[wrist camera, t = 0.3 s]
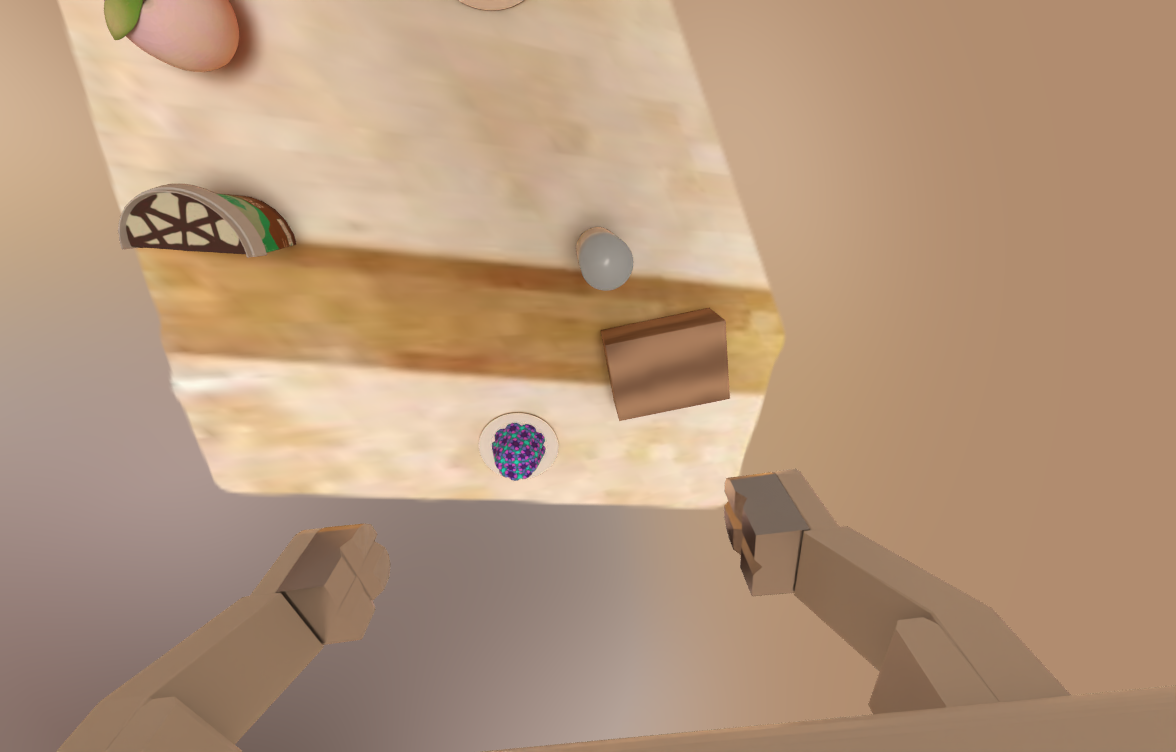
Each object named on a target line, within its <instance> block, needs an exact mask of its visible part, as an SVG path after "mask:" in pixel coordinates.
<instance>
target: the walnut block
mask: <svg viewBox="0 0 1176 752" xmlns="http://www.w3.org/2000/svg"><path fill="white" fill-rule="evenodd" d="M601 335H602V340H603V345H604V350H605V356H606V361H607V366H608V372H609V377H610V382H611V387H612V393H613V398H614V402H615V406H616V410H617V414H618V417H619V421H622V420H627V419H632V418H636V417H641V416H646V415H651V414H656V413H661V412H666V411H671V410H676V409H681V408H686V407H691V406H696V405H701V404H706V403H711V402H716V401H721V400H726V399H730V394H729V376H728V358H727V340H726V323H725V320H724V319H723V318H721V317H720V316H719V315H717V314H716V313H715V312H714V311H712V310H711V309H710V308H706V309H702V310H697V311H692V312H687V313H682V314H677V315H673V316H668V317H663V318H658V319H653V320H648V321H644V322H639V323H634V324H629V325H624V326H619V327H615V328H610V329H605V330H601Z"/></svg>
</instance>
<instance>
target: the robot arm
mask: <svg viewBox="0 0 1176 752" xmlns="http://www.w3.org/2000/svg"><path fill="white" fill-rule="evenodd" d="M458 1H460V2H462V3H464V4H466V5H468V6H471V7H474V8H478V9H483V10H501V9H506V8H509V7H512V6H515V5H517V4H519V3H520V2H522V1H524V0H458ZM725 494H726V496H727V498H728V502H727V504H726V505H725V506H724V510H725V511H724V513H725V523H726V529H727V533H728V536H729V540H730V542H731V545H732V547H733V550H735V551H736V552H737V553H739V554H740V555H741V562H740V568H741V570H742V573H743V575H744V578H745V580H746V583H747V585H748V588H749V590H750V593H751V595H752V596H762V595H773V594H786V593H794V595H795V596H796V597H797V598H798V599H799V600H800V601H801V602H803V603H804V604H805V605H806V606H807V607H808V608H809V609H810V610H812V611H813V612H814V613H815V614H816V615H817V616H818V617H819V618H820V619H821V620H823V621H824V622H825V623H826V624H827V625H828V626H829V627H830V628H832V629H833V630H834V631H835V632H836V633H837V634H838V635H839V636H840V637H842V638H843V639H844V640H845V641H846V642H847V643H848V644H849V645H850V646H852V647H853V648H854V649H855V650H856V651H857V652H858V653H859V654H861V655H862V656H863V657H864V658H865V659H866V660H867V661H868V662H869V663H871V664H872V665H873V666H874V667H875V668H876V669H877V670H879V671H880V672H879V675H878V678H877V681H876V684H875V687H874V689H873V692H872V695H871V698H870V701H869V703H868V705H869V707H870V709H871V711H872V713H873V715H862V716H851V717H840V718H830V719H821V720H820V719H819V720H809V721H798V722H788V723H778V724H767V725H756V726H746V727H735V728H724V729H714V730H704V731H694V732H682V733H672V734H661V735H650V736H640V737H630V738H619V739H608V740H599V741H587V742H577V743H566V744H556V745H546V746H535V747H524V748H514V749H503V750H492V751H482V752H1176V686H1165V687H1155V688H1144V689H1134V690H1124V691H1114V692H1102V693H1092V694H1081V695H1071V694H1069V692H1068V691H1067V690H1066V689H1065V688H1064V687H1063V686H1062V684H1061V683H1060V682H1059V681H1058V680H1057V679H1056V678H1055V677H1054V676H1053V675H1052V673H1051V672H1050V671H1049V670H1048V669H1047V668H1046V667H1045V666H1044V665H1043V664H1042V662H1041V661H1040V660H1039V659H1038V658H1037V657H1036V656H1035V655H1034V654H1033V653H1032V651H1031V650H1030V649H1029V648H1028V647H1027V646H1026V645H1025V644H1024V643H1023V642H1022V640H1020V638H1019V637H1018V636H1017V635H1016V634H1015V633H1014V632H1013V631H1012V629H1011V628H1010V627H1008V625H1007V624H1006V623H1005V622H1004V621H1003V620H1002V619H1001V617H1000V616H999V615H998V614H997V613H996V612H995V611H994V610H993V609H992V608H991V607H989V606H987V605H986V604H984V603H982V602H980V601H979V600H977V599H975V598H973V597H971V596H970V595H968V594H966V593H964V592H963V591H961V590H959V589H957V588H956V587H953V586H952V585H950V584H948V583H947V582H945V581H943V580H941V579H940V578H938V577H936V576H934V575H933V574H931V573H929V572H927V571H926V570H924V569H922V568H920V567H918V566H917V565H915V564H913V563H911V562H910V561H908V560H906V559H904V558H902V557H901V556H899V555H897V554H895V553H894V552H892V551H890V550H888V549H887V548H885V547H883V546H881V545H880V544H878V543H876V542H874V541H872V540H871V539H869V538H867V537H865V536H864V535H862V534H860V533H858V532H856V531H854V530H853V529H851V528H850V527H848V526H845V527H839V525H838V524H837V523H836V521H835V520H834V518H833V517H832V515H831V514H830V513H829V511H828V510H827V508H826V507H825V506H824V504H823V503H822V501H821V500H820V499H819V497H818V496H817V495H816V493H815V492H814V490H813V489H812V487H811V486H810V485H809V483H808V482H807V480H806V479H805V478H804V476H803V475H802V473H801V472H800V471H799V470H797V469H790V470H783V471H775V472H772V473H771V472H768V473H762V474H753V475H746V476H739V477H731V478H726V481H725ZM376 536H377V533H376V531H375V530H374V528H373V527H372V525H371V524H355V525H345V526H335V527H325V528H321V529H309V530H303V531H301V532H299V533H298V534H296V535H295V536H294V538H293V539H292V540H291V542H290V543H289V544H288V546H287V547H286V548H285V550H284V551H283V552H282V554H281V555H280V556H279V558H278V559H277V560H276V562H275V563H274V564H273V566H272V567H271V568H270V570H269V571H268V572H267V574H266V575H265V576H264V578H263V579H262V580H261V582H260V583H259V584H258V586H257V587H256V588H255V590H254V591H253V592H252V594H251V595H250V596H247V597H242V598H241V599H240V600H238V601H237V602H235V603H234V604H233V605H231V606H230V607H229V608H227V609H226V610H225V611H223V612H222V613H220V614H219V615H218V616H216V617H215V618H214V619H212V620H211V621H210V622H208V623H207V624H205V625H204V626H203V627H201V628H200V629H199V630H197V631H196V632H194V633H193V634H192V635H190V636H189V637H188V638H186V639H185V640H183V641H182V642H181V643H179V644H178V645H177V646H175V647H174V648H173V649H171V650H170V651H169V652H167V653H166V654H164V655H163V656H162V657H160V658H159V659H158V660H156V661H155V662H153V663H152V664H151V665H149V666H148V667H147V668H145V669H144V670H142V671H141V672H140V673H138V674H137V675H136V676H135V677H133V678H132V679H130V680H129V681H128V682H126V683H125V684H123V685H122V686H121V687H119V688H118V689H117V690H115V691H114V692H112V693H111V694H110V695H108V696H107V697H106V698H104V699H103V700H101V701H100V702H99V703H98V704H97V705H96V707H95V708H94V709H93V710H92V711H91V712H90V713H89V715H88V716H87V717H86V718H85V719H84V720H83V721H82V723H81V724H80V725H79V726H78V727H77V728H76V730H75V731H74V732H73V733H72V734H71V735H70V736H69V738H68V739H67V740H66V741H65V742H64V743H63V745H62V746H61V747H60V748H59V749H58V750H57V751H56V752H243V751H241V750H240V749H239V748H238V747H236V746H235V744H236V743H237V741H238V740H239V739H240V738H241V737H242V736H243V735H244V734H245V733H246V731H248V729H249V728H250V727H251V726H252V725H253V724H254V723H255V722H256V720H258V718H259V717H260V716H261V715H262V714H263V713H264V712H265V711H266V710H267V709H268V708H269V706H270V705H271V704H272V703H273V702H274V701H275V700H276V699H277V698H278V696H279V695H280V694H281V693H282V692H283V691H284V690H285V689H286V688H287V687H288V686H289V684H290V683H291V682H292V681H293V680H294V679H295V678H296V677H297V676H298V675H299V674H300V673H301V671H302V670H303V669H304V668H305V667H306V666H307V665H308V664H309V663H310V662H311V661H312V659H313V658H314V657H315V656H316V655H317V654H318V653H319V652H320V651H321V649H322V648H323V647H324V646H323V645H325V644H332V643H340V642H347V641H354V640H361V639H362V638H363V636H364V633H365V631H366V629H367V626H368V624H369V622H370V620H371V618H372V616H373V613H374V611H375V606H374V602H373V600H374V599H375V598H376V597H377V596H378V595H379V594H380V593H381V592H382V591H383V590H384V588H385V586H386V583H387V581H388V579H389V573H390V559H389V554H388V553H387V551H386V549H385V547H383V546H381V545H380V544H378V543H376V542H375V539H376Z"/></svg>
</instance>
